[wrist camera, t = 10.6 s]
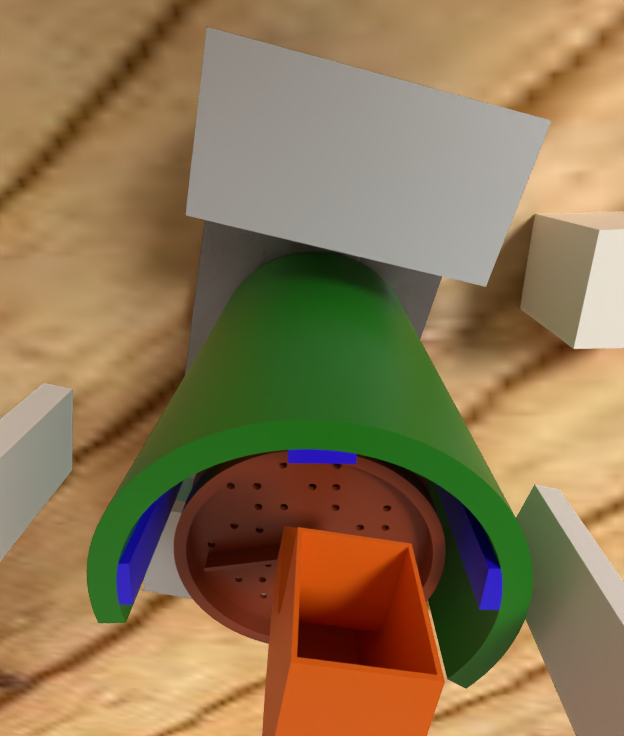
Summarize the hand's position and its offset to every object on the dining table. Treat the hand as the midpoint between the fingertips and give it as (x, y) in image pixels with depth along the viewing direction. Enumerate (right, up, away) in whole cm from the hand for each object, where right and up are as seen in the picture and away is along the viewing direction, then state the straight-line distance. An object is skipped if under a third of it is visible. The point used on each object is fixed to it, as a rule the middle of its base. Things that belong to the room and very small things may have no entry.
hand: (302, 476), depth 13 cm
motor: (0, +5, +12) cm, 13 cm away
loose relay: (+15, +9, +11) cm, 21 cm away
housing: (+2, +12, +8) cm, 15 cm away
